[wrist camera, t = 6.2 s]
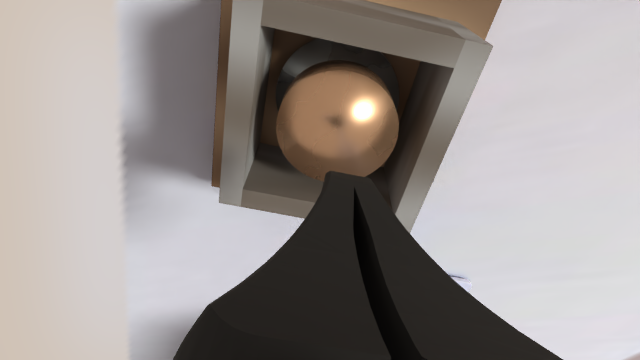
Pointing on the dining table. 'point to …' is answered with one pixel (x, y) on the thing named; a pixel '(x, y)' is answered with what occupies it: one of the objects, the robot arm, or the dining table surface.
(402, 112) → the base
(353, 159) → the plunger
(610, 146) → the dining table surface
